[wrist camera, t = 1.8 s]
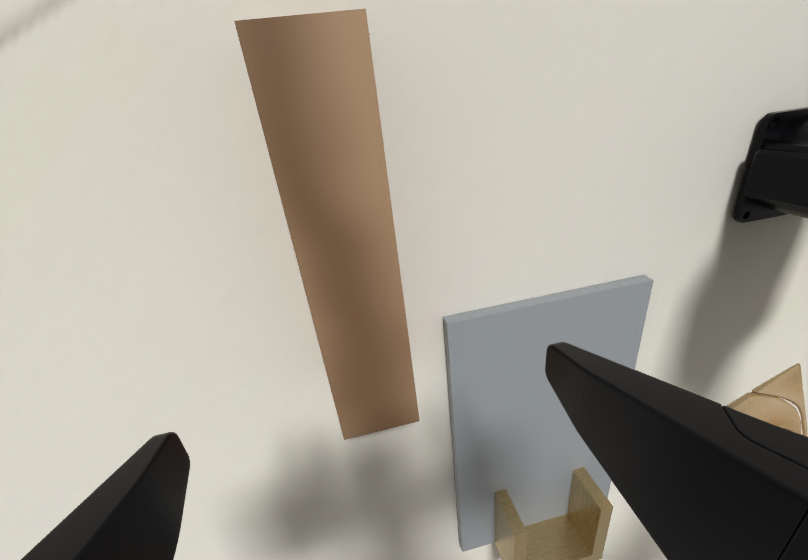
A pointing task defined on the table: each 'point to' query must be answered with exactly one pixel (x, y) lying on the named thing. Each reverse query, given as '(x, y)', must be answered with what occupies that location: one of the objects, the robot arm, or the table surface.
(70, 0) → the table surface
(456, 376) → the mounting board
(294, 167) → the walnut rail
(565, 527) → the cup bracket
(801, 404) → the board
